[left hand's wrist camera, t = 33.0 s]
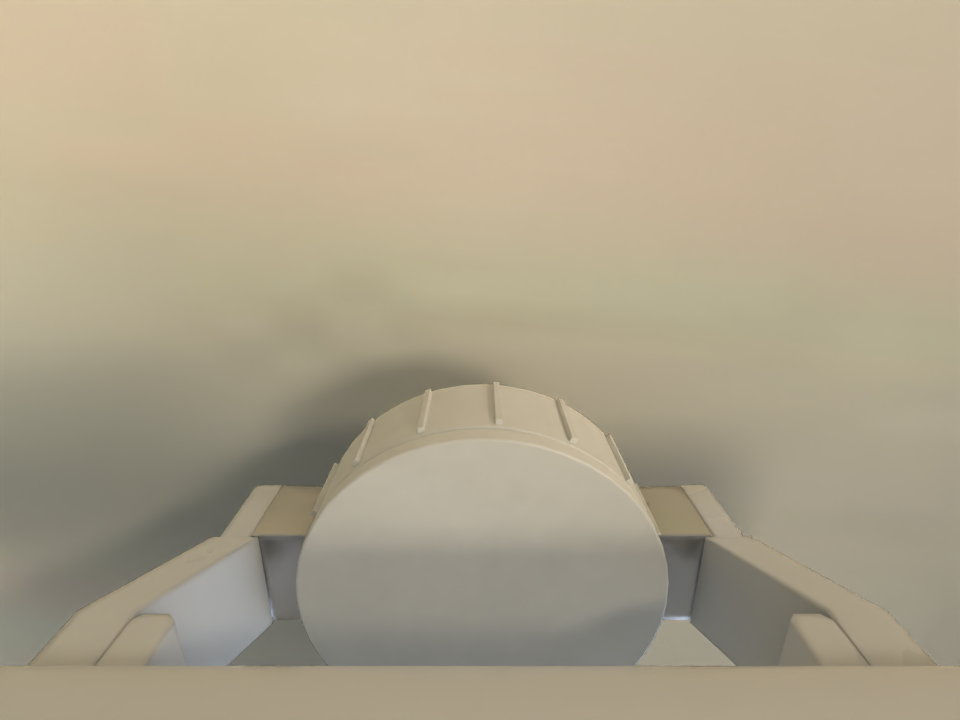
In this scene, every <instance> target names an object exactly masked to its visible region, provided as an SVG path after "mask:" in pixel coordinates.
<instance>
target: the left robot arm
mask: <svg viewBox="0 0 960 720" xmlns="http://www.w3.org/2000/svg"><path fill="white" fill-rule="evenodd" d="M322 488H323V486H296V485H285V486H283V485H260V486H257V487H255V488H254V489H253V491H252V492H251V494H250V495H249V496H248V498H247V499H246V501H245V502H244V504H243V505H242V506H241V508H240V509H239V511H238V512H237V513H236V515H235V516H234V518H233V519H232V521H231V522H230V523H229V525H228V526H227V528H226V529H225V530H224V532H223V533H222V535H221V536H220V537H211V538H209V539H207V540H205V541H204V542H202V543H200V544H198V545H196V546H195V547H193V548H191V549H189V550H187V551H185V552H184V553H182V554H180V555H178V556H176V557H175V558H173V559H171V560H169V561H167V562H165V563H164V564H162V565H160V566H158V567H156V568H155V569H153V570H151V571H149V572H147V573H145V574H144V575H142V576H140V577H138V578H136V579H135V580H133V581H131V582H129V583H127V584H125V585H124V586H122V587H120V588H118V589H116V590H115V591H113V592H111V593H109V594H107V595H105V596H104V597H102V598H100V599H98V600H96V601H95V602H93V603H91V604H89V605H87V606H85V607H84V608H82V609H80V610H78V611H76V613H75V614H74V615H73V616H72V617H71V618H70V619H69V620H68V621H67V623H66V624H65V625H64V626H63V627H62V628H61V629H60V630H59V631H58V632H57V634H56V635H55V636H54V637H53V638H52V639H51V640H50V641H49V642H48V643H47V645H46V646H45V647H44V648H43V649H42V650H41V651H40V652H39V653H38V654H37V656H36V657H35V658H34V659H33V660H32V661H31V662H30V663H29V664H28V665H27V666H0V720H960V666H937V665H936V664H935V662H934V661H933V660H932V659H931V658H930V657H929V656H928V655H927V654H926V653H925V651H924V650H923V649H922V648H921V647H920V646H919V645H918V644H917V643H916V642H915V641H914V639H913V638H912V637H911V636H910V635H909V634H908V633H907V632H906V631H905V630H904V628H903V627H902V626H901V625H900V624H899V623H898V622H897V621H896V620H895V619H894V617H893V616H892V615H891V614H890V613H889V612H887V611H886V610H884V609H882V608H880V607H878V606H876V605H875V604H873V603H871V602H869V601H867V600H865V599H864V598H862V597H860V596H858V595H856V594H855V593H853V592H851V591H849V590H847V589H845V588H844V587H842V586H840V585H838V584H836V583H835V582H833V581H831V580H829V579H827V578H825V577H824V576H822V575H820V574H818V573H816V572H814V571H813V570H811V569H809V568H807V567H805V566H804V565H802V564H800V563H798V562H796V561H794V560H793V559H791V558H789V557H787V556H785V555H783V554H782V553H780V552H778V551H776V550H774V549H773V548H771V547H769V546H767V545H765V544H763V543H762V542H760V541H758V540H756V539H754V538H752V537H743V536H742V534H741V533H740V531H739V530H738V529H737V527H736V526H735V525H734V523H733V522H732V520H731V519H730V518H729V516H728V515H727V513H726V512H725V511H724V509H723V508H722V506H721V505H720V504H719V502H718V501H717V500H716V498H715V497H714V495H713V494H712V493H711V491H710V490H709V488H708V487H706V486H704V485H683V486H655V487H639V489H640V491H641V493H642V495H643V497H644V499H645V501H646V503H647V505H648V507H649V510H650V512H651V514H652V516H653V518H654V520H655V522H656V524H657V526H658V528H659V530H660V532H661V535H658V536H659V538H660V540H661V543H662V545H663V549H664V553H665V557H666V561H667V568H668V582H669V584H668V594H667V604H666V608H665V611H664V615H663V619H669V620H690V623H691V624H692V625H694V626H695V627H696V628H697V629H698V630H699V631H700V632H701V633H702V634H703V635H704V636H705V637H706V638H707V639H709V640H710V641H711V642H712V643H713V644H714V645H715V646H716V647H717V648H718V649H719V650H720V651H721V652H723V653H724V654H725V655H726V656H727V657H728V658H729V659H730V660H731V661H732V662H733V663H734V664H735V665H736V666H227V665H228V664H229V663H230V662H231V661H233V660H234V659H235V658H236V657H237V656H238V655H239V654H240V653H241V652H242V651H243V650H244V649H245V648H246V647H247V646H249V645H250V644H251V643H252V642H253V641H254V640H255V639H256V638H257V637H258V636H259V635H260V634H261V633H262V632H264V631H265V630H266V629H267V628H268V627H269V626H270V625H271V624H272V623H273V620H294V619H301V616H300V612H299V607H298V603H297V594H296V574H297V565H298V559H299V556H300V552H301V549H302V546H303V542H304V540H305V538H306V535H307V533H308V531H309V529H310V527H311V524H312V522H313V520H314V518H315V517H314V516H312V515H310V514H311V512H312V509H313V507H314V505H315V503H316V501H317V499H318V497H319V494H320V492H321V490H322Z"/></svg>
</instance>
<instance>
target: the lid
mask: <svg viewBox="0 0 960 720" xmlns="http://www.w3.org/2000/svg"><path fill="white" fill-rule="evenodd" d="M310 515H312V516H314V517H315V518H314V520H313V522H312V524H311V527H310V529H309V531H308V533H307V535H306V538H305V540H304V542H303V546H302V549H301V552H300V556H299V559H298V565H297V574H296V594H297V603H298V607H299V612H300V616H301V620H302V623H303V625H304V628H305V630H306V633H307V635H308V637H309V639H310V641H311V642H312V644H313V646H314V647H315V649H316V651H317V653H318V654H319V655H320V656H321V658H322V659H323V660H324V661H325V663H326V664H327V665H328V666H635V665H636V664H637V663H638V661H639V660H640V659H641V658H642V657H643V656H644V654H645V652H646V651H647V649H648V648H649V646H650V645H651V643H652V641H653V640H654V638H655V636H656V633H657V631H658V629H659V627H660V624H661V622H662V619H663V615H664V611H665V608H666V604H667V594H668V584H669V582H668V568H667V561H666V557H665V553H664V549H663V545H662V543H661V540H660V538H659V536H658V535H661V532H660V530H659V528H658V526H657V524H656V522H655V520H654V518H653V516H652V514H651V512H650V510H649V507H648V505H647V503H646V501H645V499H644V497H643V495H642V493H641V491H640V489H639V487H638V485H637V483H634V481H633V479H632V477H631V475H630V473H629V471H628V469H627V467H626V465H625V463H624V460H623V458H622V456H621V454H620V452H619V450H618V448H617V446H616V444H615V442H614V440H613V438H612V437H611V435H610V434H609V435H608V436H605V435H604V434H603V433H602V431H601V430H600V429H599V428H597V427H596V426H595V425H594V424H593V423H592V422H590V421H589V420H588V419H587V418H586V417H584V416H583V415H581V414H580V413H578V412H577V411H575V410H574V409H572V408H571V407H569V406H567V405H565V402H564V400H563V399H561V398H558V400H555V399H553V398H551V397H548V396H545V395H542V394H539V393H536V392H533V391H530V390H526V389H521V388H516V387H511V386H504V385H499V382H493V385H490V384H475V385H460V386H454V387H448V388H442V389H438V390H435V391H431V389H427V390H425V392H424V394H421V395H418V396H416V397H414V398H412V399H409V400H407V401H405V402H403V403H400V404H398V405H397V406H395V407H394V408H392V409H390V410H389V411H387V412H385V413H384V414H382V415H381V416H379V417H378V418H377V419H376V420H374V419H373V418H371V419H370V420H369V421H368V422H367V425H366V427H365V429H364V430H363V431H362V432H361V433H360V434H359V436H358V437H357V438H356V439H355V440H354V441H353V442H352V444H351V445H350V447H349V448H348V449H347V451H346V452H345V454H344V455H343V457H342V459H341V461H340V463H339V464H336V463H334V465H333V467H332V469H331V471H330V473H329V475H328V477H327V479H326V482H325V484H324V486H323V488H322V490H321V492H320V494H319V497H318V499H317V501H316V503H315V505H314V507H313V509H312V512H311V514H310Z"/></svg>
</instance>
